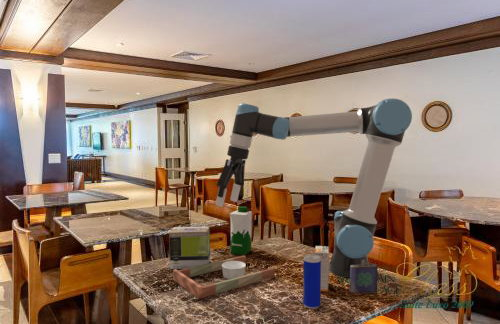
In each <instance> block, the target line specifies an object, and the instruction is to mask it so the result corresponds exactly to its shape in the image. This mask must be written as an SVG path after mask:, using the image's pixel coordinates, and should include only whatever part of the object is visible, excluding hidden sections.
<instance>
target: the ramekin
mask: <svg viewBox="0 0 500 324" xmlns="http://www.w3.org/2000/svg"><path fill="white" fill-rule="evenodd" d="M246 267H247V265H246V264H245V263H243V262H240V261H229V262H225V263H223V264H222V269H221V270H222V277H223V278H224V279H226V280H229V279H232V278H236V277H240V276H244V275H246Z"/></svg>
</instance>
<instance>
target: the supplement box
mask: <svg viewBox="0 0 500 324" xmlns="http://www.w3.org/2000/svg"><path fill="white" fill-rule="evenodd" d="M314 247H315V248H314V255H318V256H320V259H321V292H325V293H326V292H327V293H328V292H329V279H330V274H329V273H330V270H329V264H330V252H329V251H330V250H329V246H325V245H324V246H323V245H315V246H314Z"/></svg>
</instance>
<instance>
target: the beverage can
mask: <svg viewBox="0 0 500 324" xmlns="http://www.w3.org/2000/svg"><path fill="white" fill-rule="evenodd" d="M302 263H303V265H302V267H303V270H302V271H303V275H302V276H303V277H302V278H303V283H302V286H303V288H302V289H303V291H302V304H303V305H304V307H305V308H308V309H310V310H311V309H313V310H314V309H319V308H320V307H321V299H322V298H321V292H322V291H321V259H320V256H318V255H315V253H314V254H313V253H312V254H311V253H310V254H305V255H304V257H303V262H302Z"/></svg>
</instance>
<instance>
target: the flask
mask: <svg viewBox="0 0 500 324" xmlns="http://www.w3.org/2000/svg"><path fill="white" fill-rule="evenodd" d="M378 268H379V266H378V265H377V264H375V263H372V262H371V263H366V262H365V260H364V259H362V262H361V264H358V265H351V266H350V278H349V293H351V294H354V295H355V294H357V295H358V294H369V293H371V294H373V293H374V294H376V293H377V292H378V273H379V272H378V271H379V270H378Z"/></svg>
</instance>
